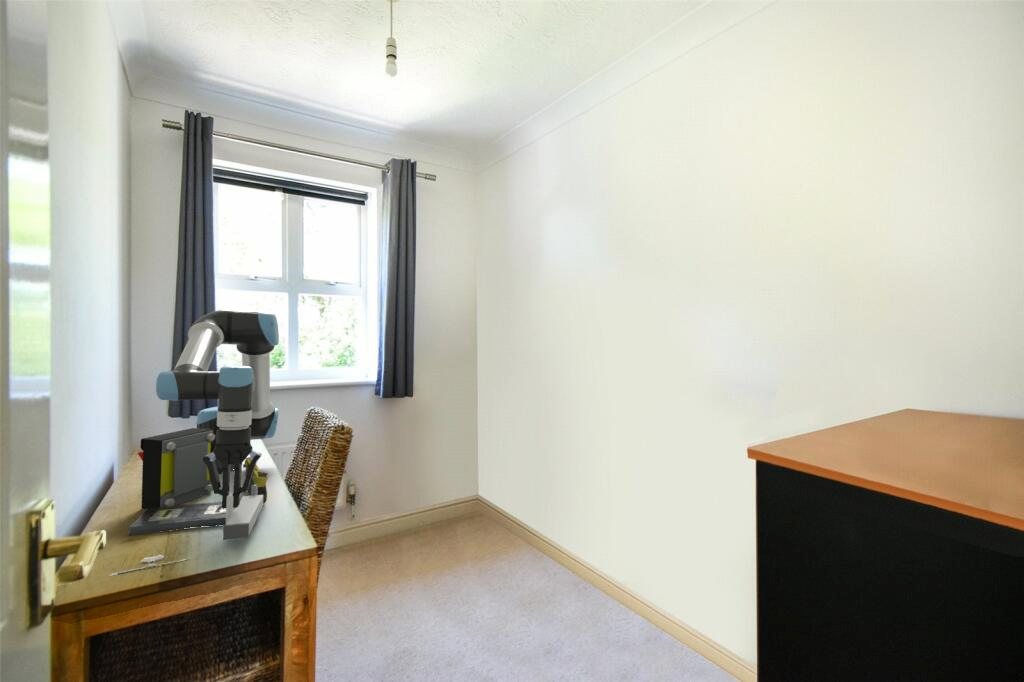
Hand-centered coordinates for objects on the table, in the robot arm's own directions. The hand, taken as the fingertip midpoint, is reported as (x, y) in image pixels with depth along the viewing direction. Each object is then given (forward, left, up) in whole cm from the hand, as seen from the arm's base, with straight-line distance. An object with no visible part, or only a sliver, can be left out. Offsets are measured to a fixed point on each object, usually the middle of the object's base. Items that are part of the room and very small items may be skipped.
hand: (230, 520), depth 119 cm
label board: (-14, -9, -3) cm, 17 cm away
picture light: (+12, -13, -4) cm, 18 cm away
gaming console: (-30, +2, -4) cm, 30 cm away
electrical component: (-33, -19, -4) cm, 38 cm away
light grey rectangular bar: (-1, +3, -1) cm, 3 cm away
